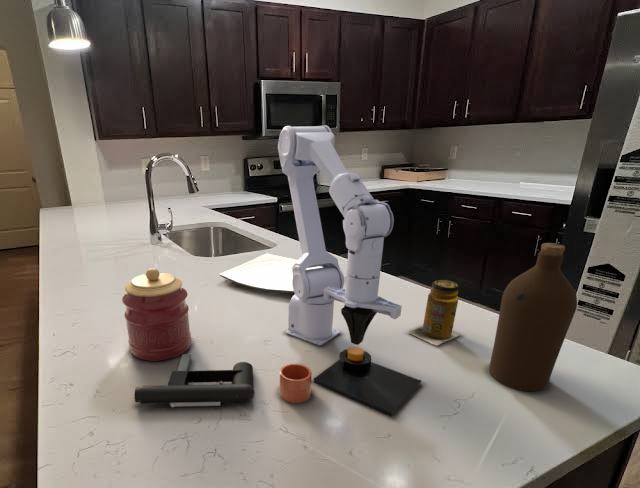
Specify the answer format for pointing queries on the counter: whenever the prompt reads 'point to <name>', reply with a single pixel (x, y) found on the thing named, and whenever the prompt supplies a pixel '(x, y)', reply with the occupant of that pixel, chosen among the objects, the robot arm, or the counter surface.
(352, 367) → the scale
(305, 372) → the cup
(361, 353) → the button
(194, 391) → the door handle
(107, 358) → the counter surface
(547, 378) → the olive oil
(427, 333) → the condiment
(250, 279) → the plate
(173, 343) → the kitchen canister
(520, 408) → the counter surface
